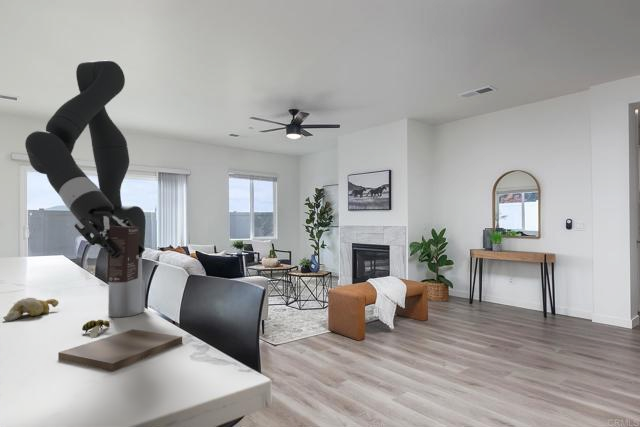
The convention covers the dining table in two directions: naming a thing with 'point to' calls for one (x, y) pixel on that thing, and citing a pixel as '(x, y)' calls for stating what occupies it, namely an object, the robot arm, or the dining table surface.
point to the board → (120, 349)
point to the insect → (95, 327)
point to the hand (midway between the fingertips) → (130, 254)
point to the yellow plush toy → (29, 308)
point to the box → (124, 254)
